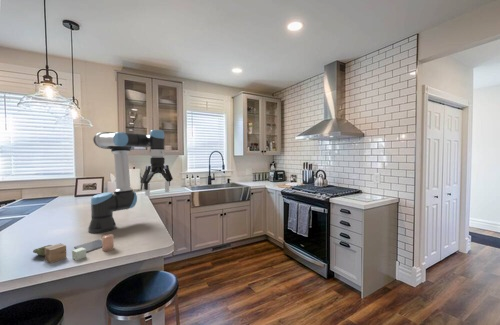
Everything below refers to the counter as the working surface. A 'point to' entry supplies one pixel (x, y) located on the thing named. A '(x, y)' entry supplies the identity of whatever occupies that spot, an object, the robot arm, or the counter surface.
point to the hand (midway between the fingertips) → (157, 193)
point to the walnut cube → (55, 252)
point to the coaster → (91, 245)
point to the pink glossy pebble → (107, 242)
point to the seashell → (41, 250)
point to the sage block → (79, 253)
